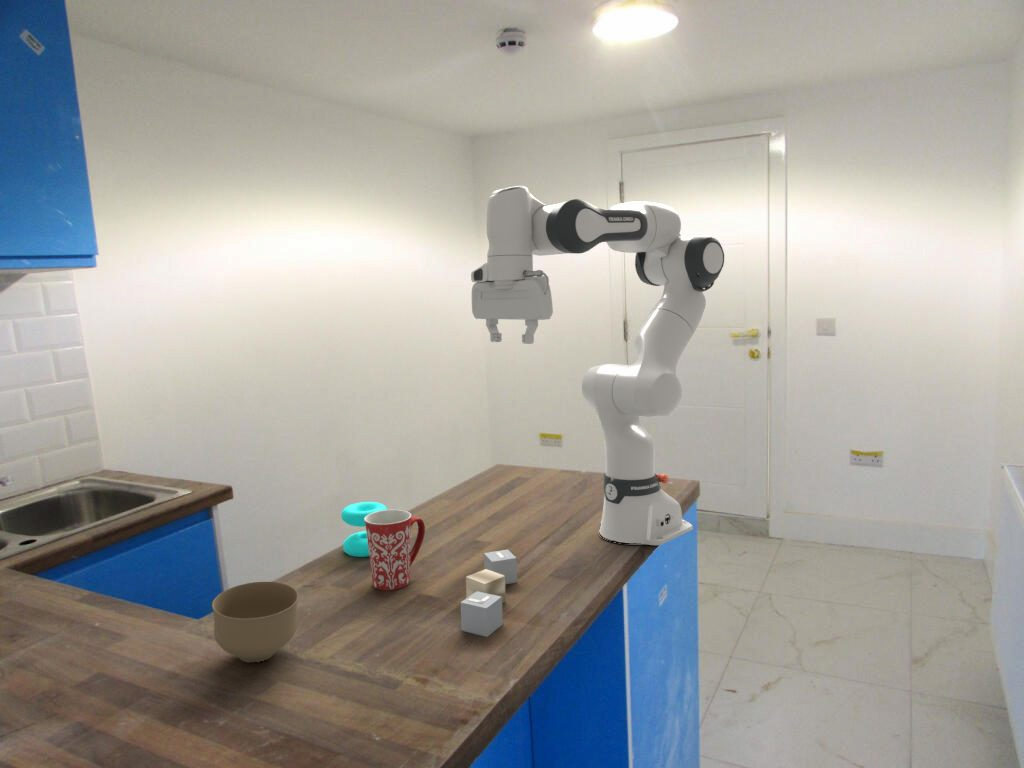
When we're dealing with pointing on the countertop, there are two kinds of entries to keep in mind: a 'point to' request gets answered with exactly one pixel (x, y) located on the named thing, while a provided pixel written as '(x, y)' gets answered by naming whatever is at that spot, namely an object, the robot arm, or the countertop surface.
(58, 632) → the countertop surface
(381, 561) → the mug
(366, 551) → the donuts
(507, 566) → the grey block
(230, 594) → the bowl
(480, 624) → the grey block
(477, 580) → the maple block
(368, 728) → the countertop surface
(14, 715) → the countertop surface
